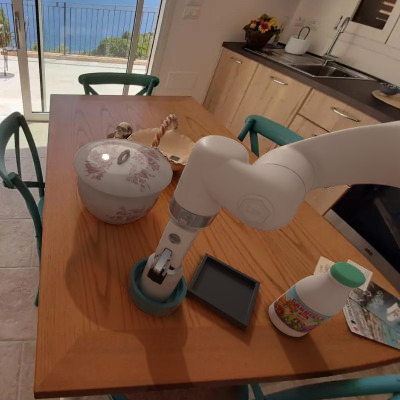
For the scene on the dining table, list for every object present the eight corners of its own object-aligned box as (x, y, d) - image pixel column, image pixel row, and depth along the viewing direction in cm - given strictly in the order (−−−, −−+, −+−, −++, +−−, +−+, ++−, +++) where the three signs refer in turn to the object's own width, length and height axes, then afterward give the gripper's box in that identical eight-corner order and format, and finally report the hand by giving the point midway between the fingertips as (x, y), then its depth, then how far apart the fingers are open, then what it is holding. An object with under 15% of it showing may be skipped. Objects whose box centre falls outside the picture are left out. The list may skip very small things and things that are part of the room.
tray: (256, 286, 67) (260, 282, 65) (243, 330, 59) (247, 326, 57) (202, 257, 72) (205, 252, 71) (184, 293, 64) (187, 289, 63)
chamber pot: (70, 240, 74) (74, 181, 60) (70, 178, 94) (72, 124, 80) (169, 241, 76) (195, 185, 62) (148, 180, 96) (164, 127, 82)
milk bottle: (268, 297, 65) (323, 247, 51) (304, 314, 62) (373, 266, 48) (266, 325, 60) (327, 277, 46) (305, 345, 57) (383, 300, 43)
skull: (127, 149, 109) (115, 126, 106) (110, 155, 117) (99, 134, 115) (142, 138, 115) (132, 116, 113) (125, 145, 124) (115, 124, 121)
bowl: (187, 287, 65) (194, 276, 62) (166, 329, 58) (173, 319, 54) (142, 259, 71) (146, 248, 67) (117, 294, 63) (120, 283, 60)
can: (167, 309, 61) (185, 282, 52) (135, 298, 62) (147, 270, 54) (170, 281, 66) (186, 252, 58) (140, 272, 67) (152, 242, 59)
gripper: (196, 251, 38) (163, 305, 50) (229, 192, 49) (195, 248, 61) (150, 225, 42) (128, 282, 53) (190, 174, 52) (164, 231, 64)
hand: (164, 264), depth 57 cm, fingers open, 9 cm apart
